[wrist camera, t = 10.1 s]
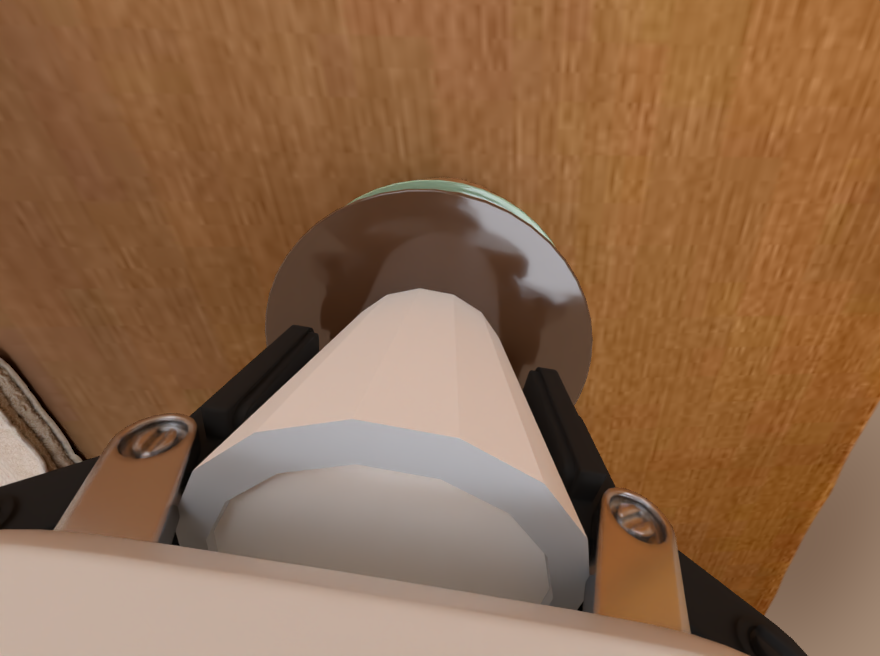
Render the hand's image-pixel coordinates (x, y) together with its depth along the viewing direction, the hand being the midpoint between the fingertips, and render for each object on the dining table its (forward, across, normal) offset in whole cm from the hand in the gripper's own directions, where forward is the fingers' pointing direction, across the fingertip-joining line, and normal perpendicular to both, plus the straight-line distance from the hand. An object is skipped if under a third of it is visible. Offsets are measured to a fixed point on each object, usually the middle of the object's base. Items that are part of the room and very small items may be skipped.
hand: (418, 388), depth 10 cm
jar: (+13, 0, 0) cm, 13 cm away
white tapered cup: (+2, 0, 0) cm, 2 cm away
